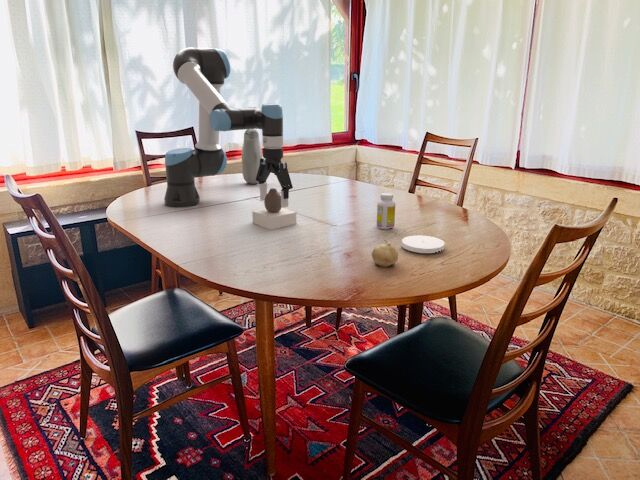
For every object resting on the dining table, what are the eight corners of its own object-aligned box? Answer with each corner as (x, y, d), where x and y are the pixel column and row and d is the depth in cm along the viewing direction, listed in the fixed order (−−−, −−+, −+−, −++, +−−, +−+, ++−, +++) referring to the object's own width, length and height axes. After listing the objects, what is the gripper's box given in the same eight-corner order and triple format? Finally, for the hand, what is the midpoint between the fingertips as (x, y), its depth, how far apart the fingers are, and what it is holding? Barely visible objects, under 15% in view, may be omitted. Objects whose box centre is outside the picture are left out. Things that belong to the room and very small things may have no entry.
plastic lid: (414, 239, 178) (414, 232, 177) (451, 248, 170) (452, 241, 169) (393, 249, 168) (393, 242, 167) (431, 259, 159) (432, 251, 158)
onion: (400, 269, 150) (401, 246, 148) (373, 269, 150) (374, 247, 148) (394, 259, 158) (395, 238, 156) (369, 260, 157) (370, 238, 155)
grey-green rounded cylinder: (239, 183, 263) (237, 128, 254) (255, 180, 270) (253, 127, 261) (250, 186, 256) (248, 130, 248) (266, 183, 263) (265, 128, 254)
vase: (279, 214, 189) (278, 191, 186) (262, 213, 191) (261, 190, 188) (285, 209, 196) (284, 187, 193) (268, 208, 197) (267, 186, 194)
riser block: (252, 223, 195) (252, 211, 194) (277, 218, 203) (277, 206, 201) (270, 230, 187) (270, 217, 185) (296, 224, 194) (296, 212, 193)
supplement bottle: (395, 225, 192) (397, 193, 188) (392, 230, 186) (394, 196, 182) (378, 224, 195) (380, 191, 190) (374, 228, 189) (376, 195, 184)
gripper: (245, 144, 192) (247, 198, 199) (285, 152, 174) (285, 211, 181) (261, 142, 197) (263, 196, 203) (302, 150, 179) (302, 208, 186)
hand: (274, 203), depth 192 cm, fingers open, 13 cm apart
